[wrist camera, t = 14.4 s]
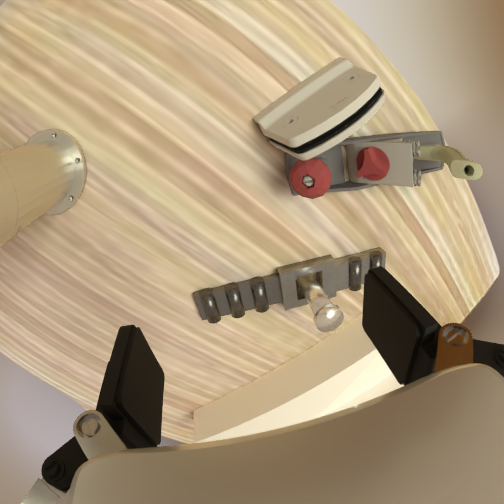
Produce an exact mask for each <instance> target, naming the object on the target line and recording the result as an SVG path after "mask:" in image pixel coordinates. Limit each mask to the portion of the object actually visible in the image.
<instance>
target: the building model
mask: <svg viewBox="0 0 504 504" xmlns="http://www.w3.org/2000/svg"><path fill="white" fill-rule="evenodd" d="M362 316H363V313H362V314H361V315H360V316H358V317H357V318H355V319H354V320H352V321H351V322H349V323H348V324H347V325H345V326H344V327H342V328H341V329H339V330H338V331H336V332H335V333H333V334H331V335H330V336H328V337H327V338H325V339H324V340H322V341H321V342H319V343H317V344H316V345H314V346H313V347H311V348H309V349H308V350H306V351H305V352H303V353H301V354H300V355H298V356H296V357H295V358H293V359H291V360H290V361H288V362H286V363H284V364H283V365H281V366H279V367H278V368H276V369H274V370H272V371H270V372H269V373H267V374H265V375H263V376H261V377H260V378H258V379H256V380H254V381H252V382H250V383H248V384H247V385H245V386H243V387H241V388H239V389H237V390H235V391H233V392H231V393H229V394H227V395H225V396H223V397H221V398H219V399H217V400H215V401H213V402H211V403H208V404H206V405H204V406H202V407H200V408H198V409H196V410H194V439H195V443H198V442H207V441H215V440H222V439H229V438H235V437H240V436H246V435H251V434H256V433H261V432H265V431H270V430H274V429H278V428H283V427H287V426H290V425H294V424H298V423H302V422H305V421H309V420H312V419H316V418H319V417H322V416H325V415H329V414H332V413H335V412H338V411H341V410H344V409H347V408H350V407H352V406H355V405H358V404H361V403H363V402H366V401H369V400H371V399H374V398H376V397H379V396H381V395H384V394H386V393H389V392H391V391H393V390H396V389H398V388H401V387H403V386H404V385H403V384H402V385H400V384H399V383H398V381H397V380H396V378H395V377H394V375H393V374H392V372H391V370H390V369H389V367H388V366H387V364H386V363H385V361H384V360H383V358H382V357H381V355H380V354H379V352H378V351H377V349H376V348H375V346H374V345H373V343H372V342H371V340H370V339H369V337H368V336H367V334H366V333H365V331H364V329H363V326H362Z"/></svg>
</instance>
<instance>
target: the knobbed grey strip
mask: <svg viewBox="0 0 504 504" xmlns="http://www.w3.org/2000/svg"><path fill="white" fill-rule="evenodd" d="M385 258H386V252H385V251H384V250H383V249H381V248H380V247H379V248H375V249H372V250H368V251H364V252H360V253H356V254H352V255H349V256H345V257H341V258H337V259H334V258H333V257H332V256H331V255H327V256H323V257H319V258H315V259H311V260H307V261H303V262H298V263H294V264H290V265H286V266H282V267H278V268H277V273H276V274H272V275H268V276H263V277H255V278H252V279H251V280H246V281H242V282H238V283H229V284H227V285H224V286H220V287H216V288H211V289H210V288H206V289H203V290H201V291H198V292H194V298H195V301H196V304H197V307H198V309H199V312H200V315H201V318H202V320H206V319H208V322H209V323H217V322H219V321H220V320H221V316H224V315H229V314H232V317H234V318H240V317H242V316H244V315H245V311H247V310H251V309H256V311H257V312H266V311H267V310H268V309H269V305H272V304H276V303H280V302H282V304H283V306H284V309H285V310H287V309H291V308H295V307H299V306H303V305H306V304H308V302H307V300H306V298H305V296H304V294H303V293H302V292H299V293H297V289H296V280H295V278H296V277H300V276H304V275H308V274H312V273H316V272H318V276H319V284H320V285H321V287H322V288H323V290H324V291H325V293H326V294H327V296H328V297H329V298H332V297H335V296H336V291H340V290H343V289H347V288H349V289H350V290H352V291H358V290H360V289H361V284H364V277H365V274H367V273H368V270H369V269H372V268H376V267H379V266H382V267H383V268H384V269H385Z"/></svg>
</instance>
